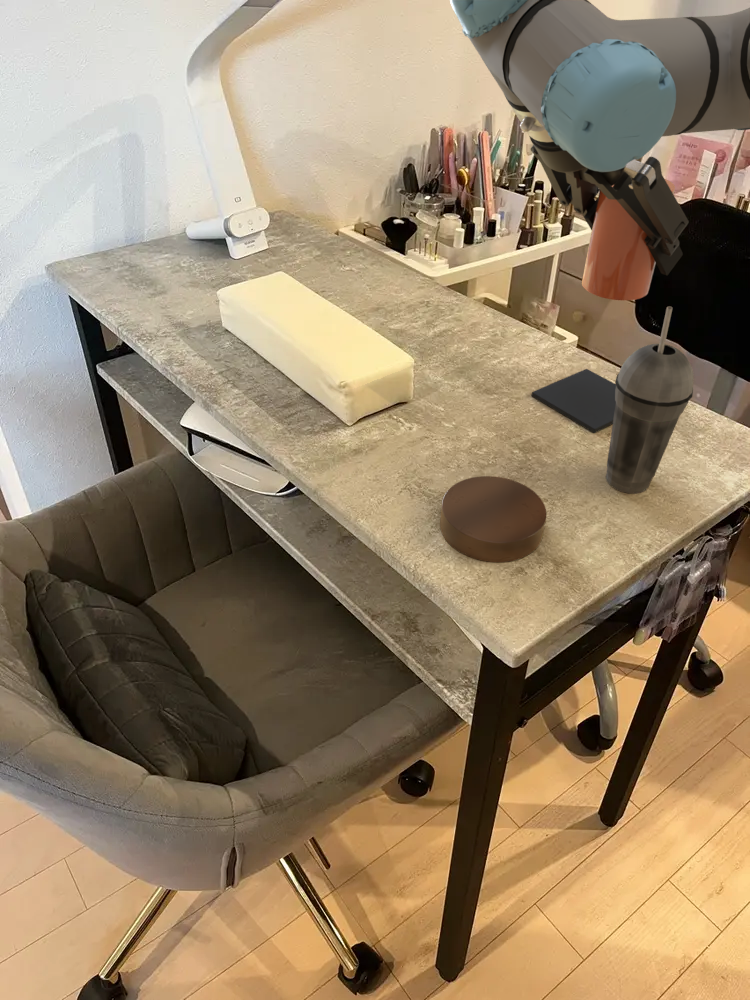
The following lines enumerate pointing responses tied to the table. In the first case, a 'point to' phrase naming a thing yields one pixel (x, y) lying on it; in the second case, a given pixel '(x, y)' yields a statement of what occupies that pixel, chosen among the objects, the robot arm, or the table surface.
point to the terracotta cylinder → (618, 254)
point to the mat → (582, 399)
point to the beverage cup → (647, 411)
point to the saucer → (492, 518)
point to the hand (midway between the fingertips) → (641, 251)
